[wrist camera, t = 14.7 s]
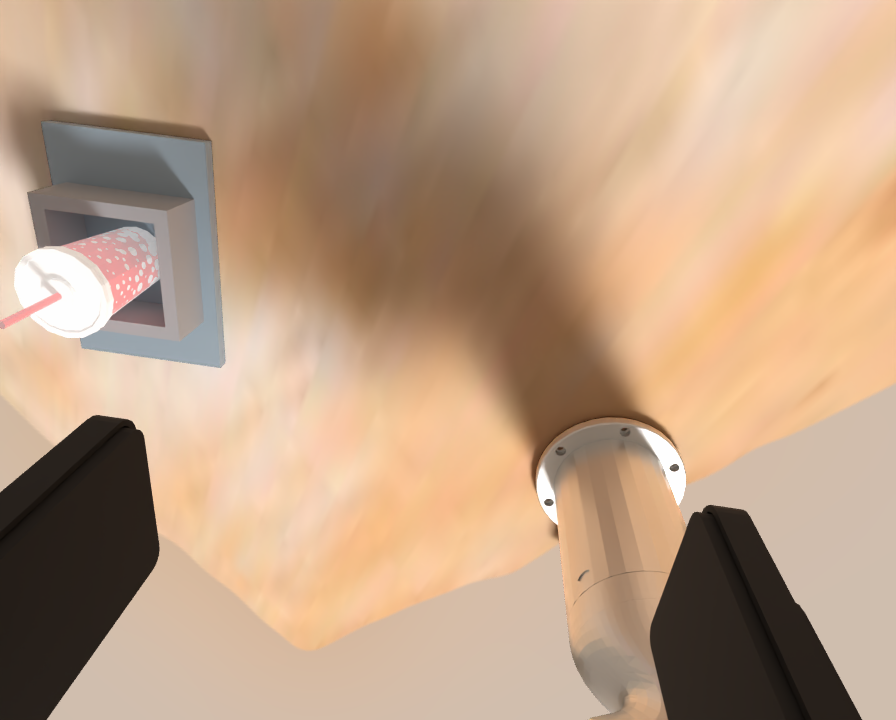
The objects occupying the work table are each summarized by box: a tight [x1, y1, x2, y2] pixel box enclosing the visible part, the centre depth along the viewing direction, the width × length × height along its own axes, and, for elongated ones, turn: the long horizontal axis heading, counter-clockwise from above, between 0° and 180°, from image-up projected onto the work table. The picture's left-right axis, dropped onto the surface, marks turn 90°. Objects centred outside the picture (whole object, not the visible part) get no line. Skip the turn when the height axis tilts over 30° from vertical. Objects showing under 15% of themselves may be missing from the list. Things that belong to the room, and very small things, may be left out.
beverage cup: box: [0, 227, 160, 338], centre depth 41 cm, size 6×6×14 cm
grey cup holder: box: [27, 120, 225, 368], centre depth 46 cm, size 18×12×5 cm, turn 174°
